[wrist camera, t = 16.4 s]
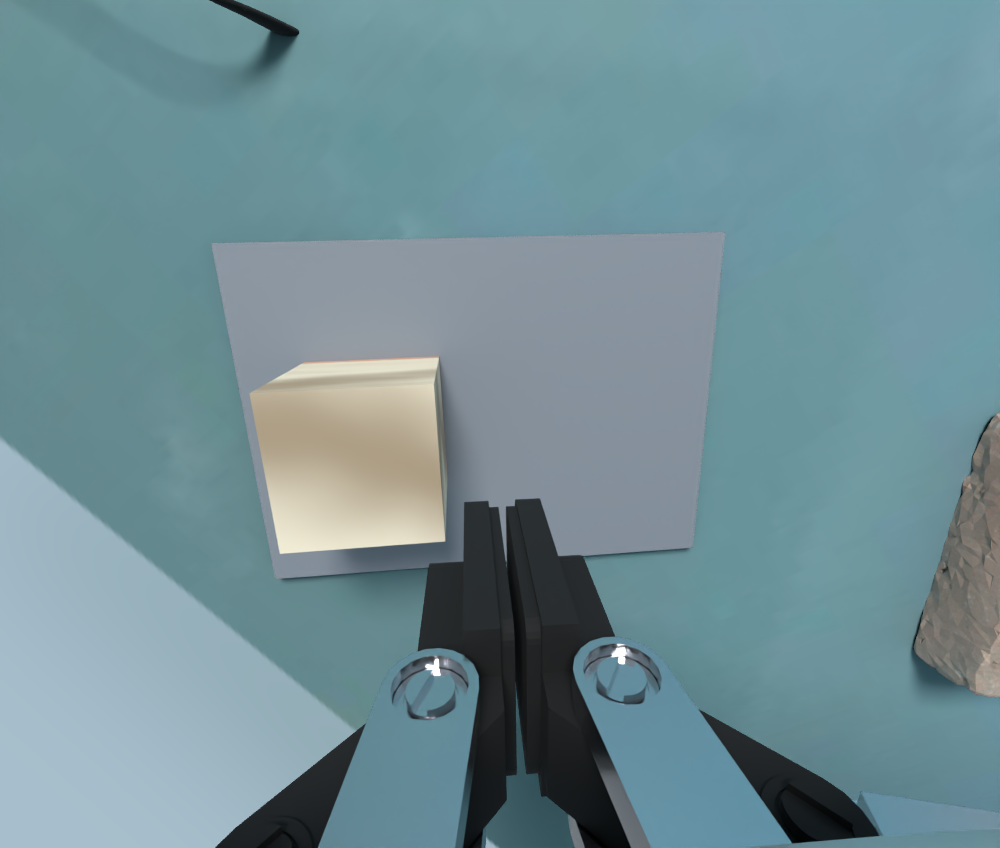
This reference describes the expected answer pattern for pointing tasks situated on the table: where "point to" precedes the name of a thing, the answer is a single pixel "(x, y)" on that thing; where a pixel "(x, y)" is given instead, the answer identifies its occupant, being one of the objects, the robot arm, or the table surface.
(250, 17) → the eyeglasses
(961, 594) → the brick
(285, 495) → the cube
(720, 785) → the robot arm
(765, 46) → the table surface
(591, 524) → the mat
